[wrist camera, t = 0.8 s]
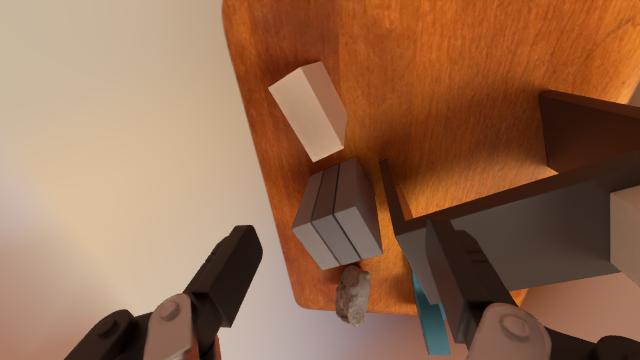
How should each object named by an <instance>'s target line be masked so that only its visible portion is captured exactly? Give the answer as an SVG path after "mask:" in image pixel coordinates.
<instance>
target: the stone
mask: <svg viewBox="0 0 640 360" xmlns="http://www.w3.org/2000/svg"><path fill="white" fill-rule="evenodd" d="M370 277H371V276H370V274H369V273H368V272H367V271H363V270H361V269H360V268H359V267H357V266H355V265H351V266H348V267H347V268H346V269H345V270H344V272H343V273H342V275H341V278H340V284H339V286H338V287H337V289H336V292H337V298H336V303H335V304H336V314H337V316H338V317H340V318H341V320H342V321H344V322H346V323H348V324H352V325H353V326H361V324H362V323H363V322H364V316H365V311H367V309H368V305H369V304H368V296H369V293H370V287H371V285H370V281H369V280H370Z"/></svg>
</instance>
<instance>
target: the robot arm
mask: <svg viewBox="0 0 640 360" xmlns="http://www.w3.org/2000/svg"><path fill="white" fill-rule="evenodd" d="M425 252H426V257H427V261H428V264H429V267H430V270H431V273H432V276H433V279H434V282H435V285H436V288H437V291H438V294H439V297H440V300H441V303H442V306H443V309H444V312H445V315H446V318H447V321H448V324H449V327H450V330H451V333H452V336H453V339H454V342H455V343H462V344H466V346H467V349H468V354H467V357H466V360H640V342H638V341H635V340H633V339H629V338H626V337H622V336H611V335H610V336H605V337H602V338H601V339H600V340H599V341H598V342H597V343H593V342H589V341H586V340H583V339H580V338H576V337H573V336H570V335H566V334H563V333H560V332H557V331H554V330H552V329H549V328H547V327H545V326H543V325H542V324H541V323H540V322H539V321H538V320H537V319H536V318H535V317H534V316H532V315H531V314H529V313H528V312H526V311H525V310H523V309H521V308H519V307H518V305H517V304H516V303H515V301H514V300H513V298H512V296H511V295H510V293H509V292H508V290H507V288H506V287H505V285H504V283H503V282H502V280H501V279H500V277H499V275H498V274H497V272H496V271H495V269H494V267H493V266H492V264H491V263H489V259H488V258H487V256H486V255H485V253H483V250H482V248H481V247H480V245H479V243H478V242H477V240H476V239H475V238H474V237H473V236H471V235H470V234H469V233H468V232H466V231H465V230H455V229H454V227H453V225H452V223H451V221H450V220H449V218H447V217H446V218H428V219H427V224H426V238H425ZM262 255H263V249H262V246H261V243H260V241H259V238H258V236H257V233H256V231H255V229H254V227H253V226H252V225H241V226H240V225H238V226H235V227H234V229H233V230H232V231H231V233H230V234H229V236H227V237H225V238H224V239H223V240H222V241H220V242H219V243H218V244H217V245H216V246H215V248H214V249H213V251H212V252H211V255H209V256H208V258H207V259H206V261H205V263H203V265H202V266H201V267H200V269H199V270H198V272H197V273H196V274H195V276H194V277H193V279H192V280H191V282H190V283H189V284H188V286H187V287H186V289H185V290H184V291H183V293H181V294H176V295H174V296H171V297H170V298H168V299H166V300H165V301H164V302H162V303H161V304H160V305H159V306H158V307H157V308H156V309H155V311H154V312H150V313H147V314H143V315H140V316H136V317H134V316H133V315H132V314H131V313H130V312H129V311H128V310H124V309H123V310H118V311H115V312H113V313H111V314H109V315H108V316H106V317H104V318H103V319H102V320H100V321H99V322H98V323H97V324H96V325H95V326H94V327H93V328H92V329H91V330H90V331H89V332H88V333H87V334H86V336H85V337H84V338H83V339H82V340H81V341H80V342H79V343H78V344H77V346H76V347H75V348H74V349H73V350H72V351H71V352H70V353H69V354H68V356H67V357H66V358H65V359H64V360H221V353H220V345H219V338H218V335H217V333H218V330H219V328H220V327H228V328H231V326H232V324H233V321H234V320H235V317H236V315H237V313H238V311H239V308H240V306H241V304H242V302H243V300H244V297H245V295H246V293H247V291H248V289H249V286H250V284H251V282H252V280H253V277H254V275H255V273H256V271H257V268H258V266H259V264H260V262H261V259H262Z"/></svg>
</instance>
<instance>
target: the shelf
mask: <svg viewBox="0 0 640 360" xmlns="http://www.w3.org/2000/svg"><path fill="white" fill-rule="evenodd" d="M538 96H539V104H540V111H541V119H542V127H543V134H544V142H545V149H546V157H547V164H548V167H549V168H551V169H553V170H554V171H556V172H558V173H559V174H556V175H553V176H550V177H546V178H543V179H540V180H537V181H533V182H530V183H527V184H524V185H520V186H517V187H514V188H511V189H507V190H504V191H501V192H498V193H494V194H491V195H488V196H485V197H481V198H478V199H475V200H472V201H468V202H465V203H462V204H459V205H455V206H452V207H449V208H446V209H442V210H439V211H436V212H433V213H429V214H426V215H423V216H420V217H416V218H413V215H412V213H411V210H410V208H409V206H408V203H407V201H406V199H405V197H404V195H403V192H402V190H401V188H400V186H399V184H398V181H397V179H396V177H395V175H394V173H393V170H392V168H391V166H390V164H389V162H388V159H387V158H386V159H383V160H381V161H379V165H380V170H381V174H382V179H383V184H384V188H385V193H386V198H387V202H388V207H389V212H390V216H391V221H392V225H393V230H394V235H395V238H396V239H397V241H398V243H399V245H400V247H401V249H402V251H403V253H404V255H405V257H406V259H407V261H408V262H409V264H410V266H411V268H412V270H413V272H414V274H415V276H416V278H417V280H418V282H419V284H420V285H421V287H422V289H423V291H424V293H425V295H426V297H427V299H428V301H429V303H430V304H431V305H433V304H438V303H441V300H440V297H439V294H438V291H437V288H436V285H435V282H434V279H433V276H432V273H431V270H430V267H429V264H428V261H427V257H426V252H425V238H426V224H427V219H428V218H446V217H447V218H449V220H450V221H451V223H452V225H453V227H454V229H455V230H465V231H466V232H468V233H469V234H470V235H471V236H473V237H474V238H475V239H476V240H477V242H478V243H479V245H480V247H481V248H482V250H483V253H485V255H486V256H487V258H488V259H489V263H491V264H492V266H493V267H494V269H495V271H496V272H497V274H498V275H499V277H500V279H501V280H502V282H503V283H504V285H505V287H506V288H507V290H508V291H514V290H520V289H526V288H531V287H538V286H543V285H549V284H555V283H560V282H567V281H573V280H578V279H584V278H590V277H596V276H602V275H608V274H613V273H619V272H621V271H620V270H619V269H618V268H617V267H615V266H614V265H613V264H612V263H611V262H610V193H612V192H616V191H619V190H623V189H627V188H631V187H634V186H638V185H640V107H635V106H630V105H625V104H620V103H615V102H610V101H605V100H600V99H595V98H590V97H585V96H580V95H575V94H570V93H565V92H559V91H554V90H549V91H547V92H544V93H542V94H539V95H538Z"/></svg>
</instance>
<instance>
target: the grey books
mask: <svg viewBox="0 0 640 360" xmlns="http://www.w3.org/2000/svg"><path fill="white" fill-rule="evenodd" d="M291 230H292V231H293V232H294V234H295V235H296V236H297V238H298V239H299V240H300V242H301V243H302V244H303V246H304V247H305V248H306V250H307V251H308V252H309V254H310V255H311V256H312V257H313V259H314V260H315V261H316V263H317V264H318V265H319V267H320V268H321V269H322V270H326V269H329V268H333V267H337V266H340V263H341V265H345V264H349V263H352V262H356V261H360V260H361V258H362V259H367V258H371V257H375V256H378V255H382V254H383V249H382V242H381V235H380V228H379V220H378V213H377V206H376V199H375V193H374V191H373V189H372V187H371V185H370V183H369V181H368V179H367V178H366V176H365V174H364V172H363V170H362V168H361V166H360V164H359V162H358V160H357V158H356V156H355V157H352V158H350V159H348V160H345V161H343V162H341V163H340V164H336V165H334V166H332V167H329V168H327V169H325V171H324V170H323V171H321V172H318V173H316V174H314V175H311V176H310V178H309V181H308V183H307V186H306V189H305V192H304V195H303V197H302V200H301V203H300V206H299V208H298V211H297V214H296V217H295V220H294V222H293V225H292V228H291Z"/></svg>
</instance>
